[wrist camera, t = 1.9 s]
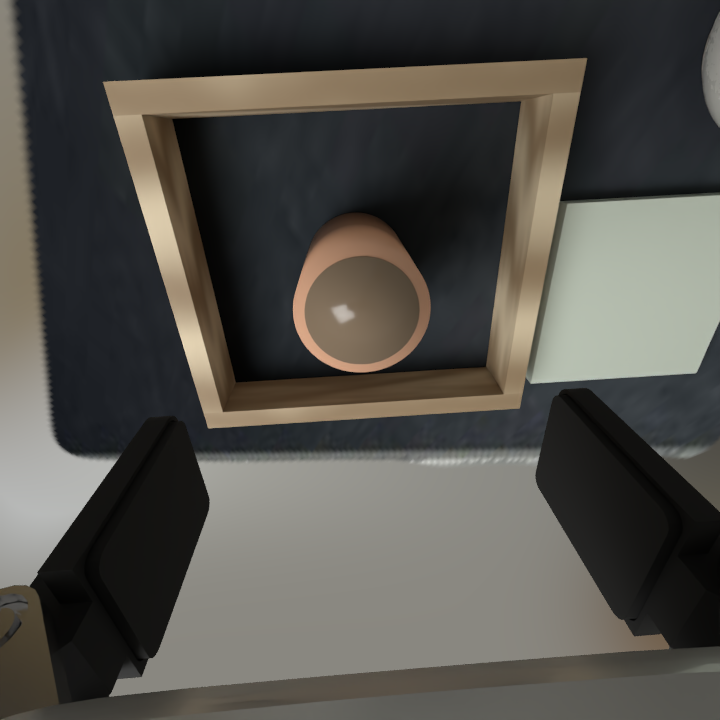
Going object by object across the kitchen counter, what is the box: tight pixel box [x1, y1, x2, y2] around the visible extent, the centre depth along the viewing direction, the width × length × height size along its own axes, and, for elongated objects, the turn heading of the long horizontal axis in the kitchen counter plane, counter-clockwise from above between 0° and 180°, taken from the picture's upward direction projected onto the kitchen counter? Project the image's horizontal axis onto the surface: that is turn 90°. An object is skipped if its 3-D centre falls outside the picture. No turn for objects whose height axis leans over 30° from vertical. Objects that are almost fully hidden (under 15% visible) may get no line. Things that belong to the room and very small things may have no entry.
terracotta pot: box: [293, 213, 431, 372], centre depth 20 cm, size 6×6×8 cm
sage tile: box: [526, 192, 720, 383], centre depth 25 cm, size 12×12×1 cm
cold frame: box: [103, 58, 587, 428], centre depth 22 cm, size 18×20×4 cm
